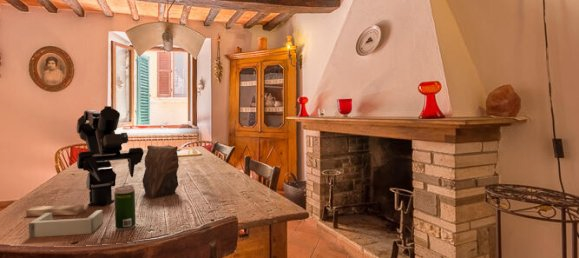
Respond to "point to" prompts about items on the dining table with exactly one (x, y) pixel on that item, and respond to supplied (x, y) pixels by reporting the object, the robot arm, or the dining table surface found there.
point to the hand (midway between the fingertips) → (116, 178)
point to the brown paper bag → (160, 171)
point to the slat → (55, 210)
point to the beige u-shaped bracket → (64, 225)
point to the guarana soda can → (124, 208)
